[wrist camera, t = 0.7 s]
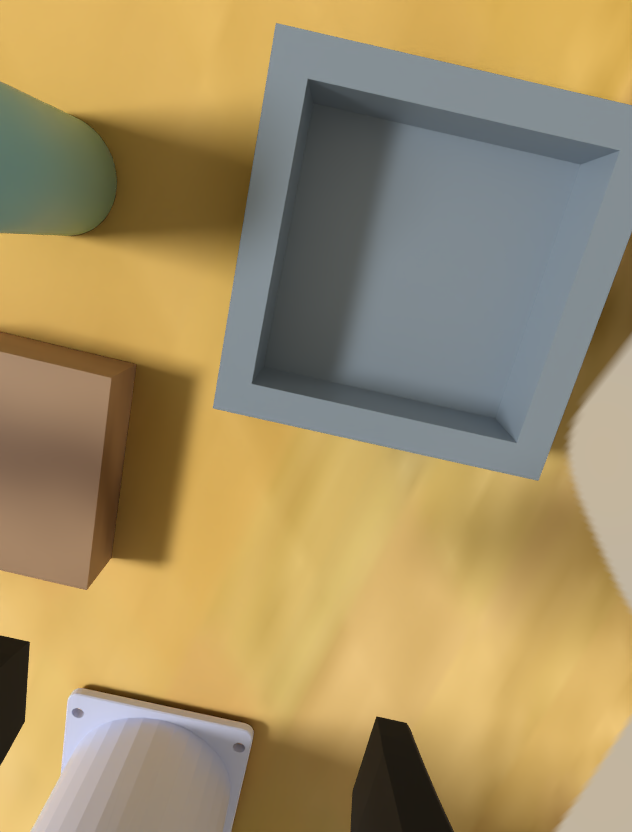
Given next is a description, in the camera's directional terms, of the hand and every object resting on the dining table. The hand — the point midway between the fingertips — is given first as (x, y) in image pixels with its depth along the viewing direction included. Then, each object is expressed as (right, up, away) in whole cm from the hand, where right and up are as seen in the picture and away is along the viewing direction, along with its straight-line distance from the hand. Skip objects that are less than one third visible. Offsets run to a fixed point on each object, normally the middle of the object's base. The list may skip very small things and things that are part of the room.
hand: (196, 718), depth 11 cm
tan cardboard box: (-8, +5, +10) cm, 13 cm away
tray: (+5, +11, +7) cm, 14 cm away
